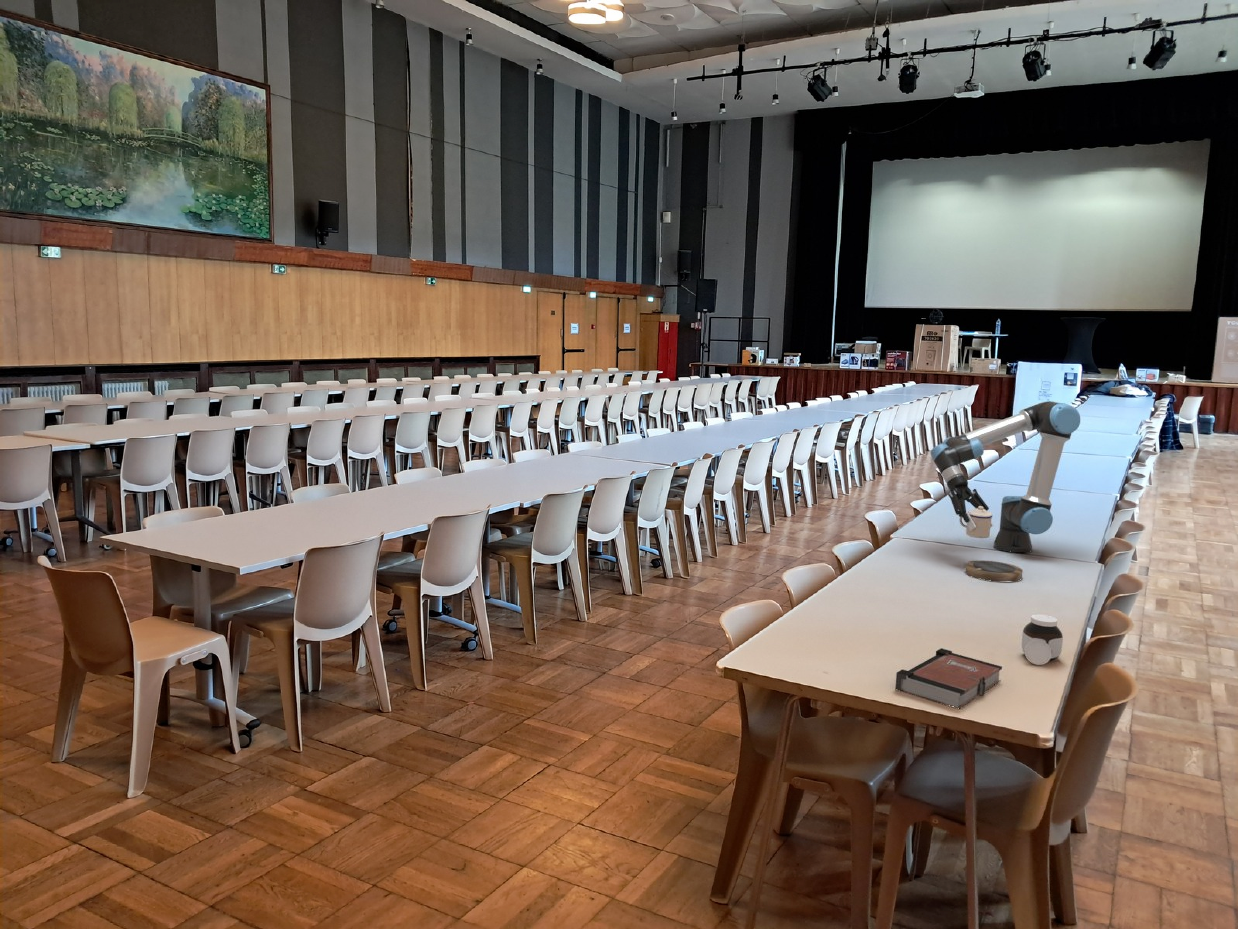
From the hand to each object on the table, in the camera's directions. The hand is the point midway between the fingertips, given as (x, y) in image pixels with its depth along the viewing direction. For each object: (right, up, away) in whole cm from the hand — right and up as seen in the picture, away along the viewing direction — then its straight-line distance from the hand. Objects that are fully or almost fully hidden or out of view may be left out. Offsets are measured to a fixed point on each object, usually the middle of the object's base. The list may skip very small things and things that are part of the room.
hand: (982, 528), depth 351 cm
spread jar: (-22, -31, -95) cm, 102 cm away
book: (-55, -34, -115) cm, 132 cm away
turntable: (+2, -17, -6) cm, 19 cm away
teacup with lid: (-2, -3, +4) cm, 5 cm away
